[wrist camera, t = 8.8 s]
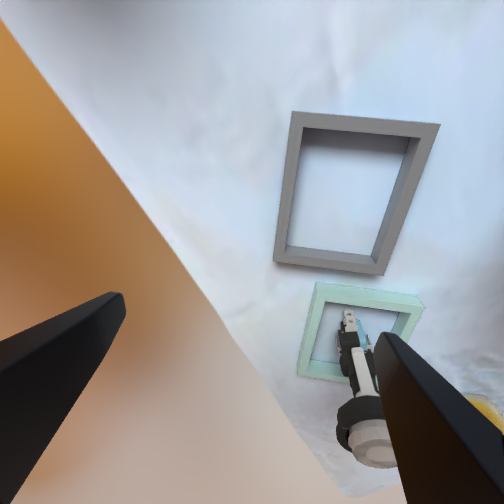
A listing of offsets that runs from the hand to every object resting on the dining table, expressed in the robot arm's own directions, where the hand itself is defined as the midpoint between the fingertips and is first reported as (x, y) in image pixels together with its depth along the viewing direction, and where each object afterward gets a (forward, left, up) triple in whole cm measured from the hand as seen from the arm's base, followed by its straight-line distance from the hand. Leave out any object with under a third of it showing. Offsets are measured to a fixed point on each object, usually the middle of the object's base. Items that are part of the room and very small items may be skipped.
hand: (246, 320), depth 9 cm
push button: (-9, +12, -13) cm, 20 cm away
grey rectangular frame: (-5, -1, -13) cm, 14 cm away
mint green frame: (-9, +12, -13) cm, 20 cm away
